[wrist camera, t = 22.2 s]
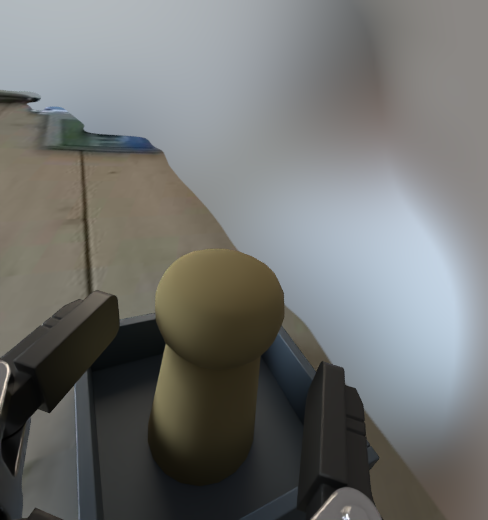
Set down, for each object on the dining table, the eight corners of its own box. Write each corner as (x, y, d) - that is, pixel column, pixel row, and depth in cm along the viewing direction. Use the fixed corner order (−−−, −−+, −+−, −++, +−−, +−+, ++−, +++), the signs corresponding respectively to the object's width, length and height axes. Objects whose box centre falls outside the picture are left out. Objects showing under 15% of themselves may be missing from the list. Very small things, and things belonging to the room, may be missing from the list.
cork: (271, 461, 16) (337, 311, 10) (156, 507, 14) (156, 345, 8) (232, 369, 21) (263, 227, 15) (141, 391, 18) (133, 233, 12)
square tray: (348, 495, 16) (380, 457, 14) (97, 656, 11) (81, 638, 8) (248, 332, 25) (257, 292, 23) (82, 375, 19) (72, 328, 17)
